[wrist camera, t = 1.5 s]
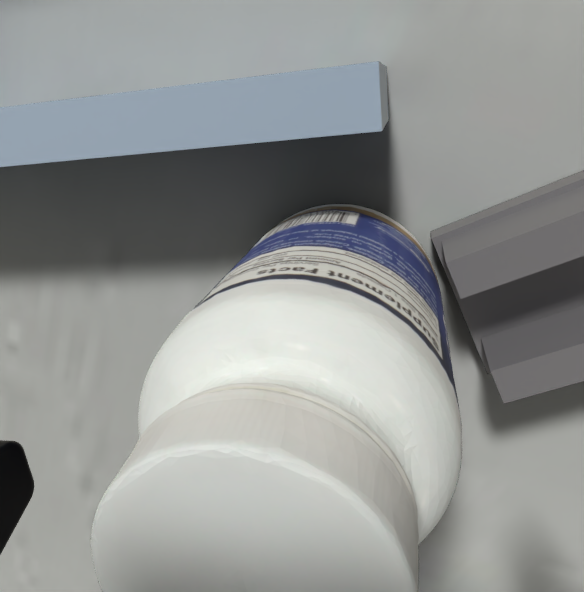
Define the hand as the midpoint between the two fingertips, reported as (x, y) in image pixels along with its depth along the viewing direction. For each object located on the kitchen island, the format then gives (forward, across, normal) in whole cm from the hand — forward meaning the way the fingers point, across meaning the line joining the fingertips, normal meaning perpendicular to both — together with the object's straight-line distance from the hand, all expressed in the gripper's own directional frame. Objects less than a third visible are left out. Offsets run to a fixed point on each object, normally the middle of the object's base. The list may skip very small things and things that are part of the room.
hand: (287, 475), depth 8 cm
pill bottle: (+8, 0, 0) cm, 8 cm away
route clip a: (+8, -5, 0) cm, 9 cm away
